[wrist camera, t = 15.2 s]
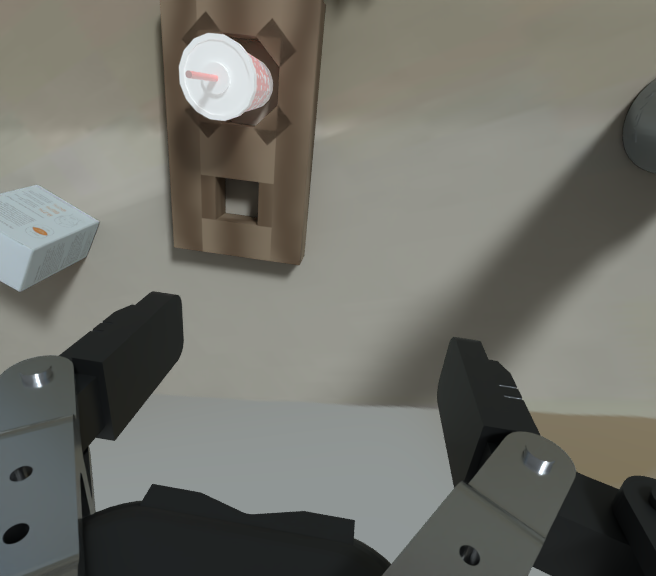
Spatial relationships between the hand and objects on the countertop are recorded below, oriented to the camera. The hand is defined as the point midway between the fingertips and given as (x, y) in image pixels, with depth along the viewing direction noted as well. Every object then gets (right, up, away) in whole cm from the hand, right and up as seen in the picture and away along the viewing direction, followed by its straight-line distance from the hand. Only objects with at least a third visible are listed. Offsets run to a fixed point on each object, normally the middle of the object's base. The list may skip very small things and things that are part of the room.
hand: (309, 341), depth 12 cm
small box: (-31, +10, +36) cm, 49 cm away
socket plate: (-8, +17, +30) cm, 35 cm away
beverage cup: (-7, +22, +28) cm, 36 cm away
